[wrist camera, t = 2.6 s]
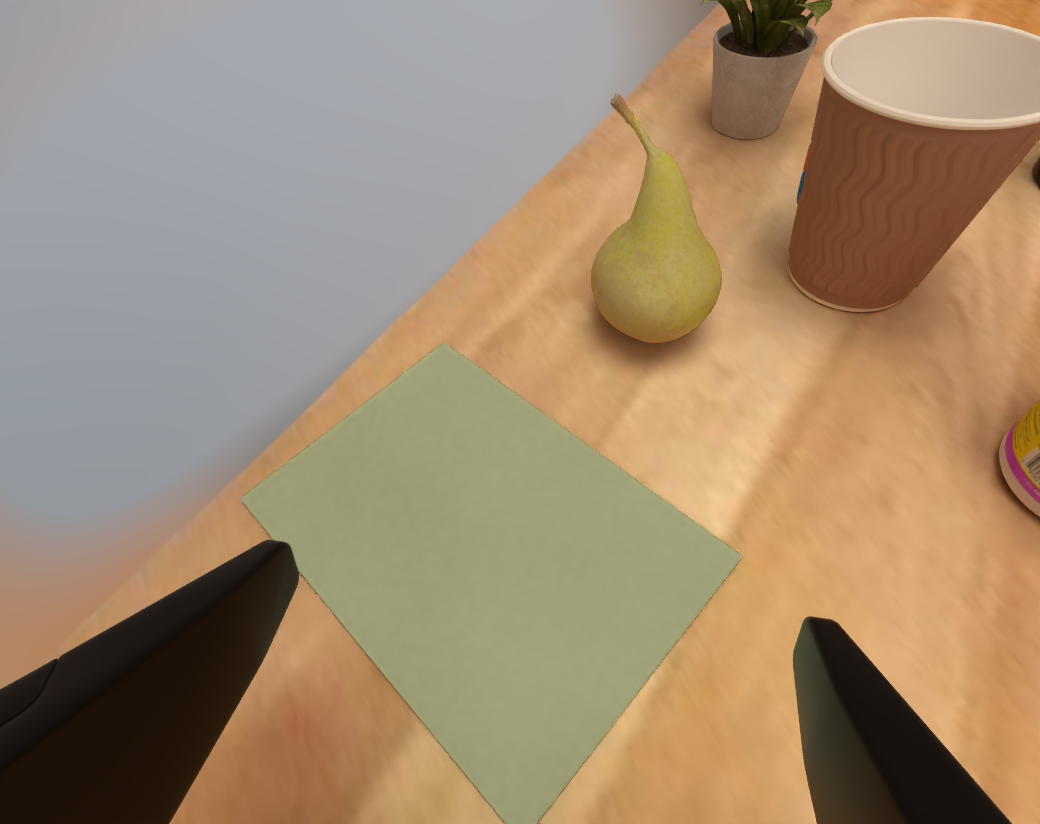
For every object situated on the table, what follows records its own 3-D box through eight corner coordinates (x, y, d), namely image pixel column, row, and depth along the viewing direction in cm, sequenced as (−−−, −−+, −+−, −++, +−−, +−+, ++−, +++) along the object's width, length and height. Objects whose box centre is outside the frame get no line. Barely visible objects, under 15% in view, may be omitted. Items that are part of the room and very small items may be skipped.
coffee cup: (862, 206, 39) (955, -1, 29) (984, 302, 33) (1153, 81, 23) (726, 249, 37) (777, 46, 28) (828, 357, 31) (937, 147, 22)
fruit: (647, 388, 31) (678, 189, 21) (561, 315, 35) (553, 119, 25) (732, 329, 33) (794, 124, 23) (641, 266, 37) (662, 68, 27)
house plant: (896, 151, 42) (1040, -157, 29) (724, 197, 41) (793, -106, 27) (787, 72, 50) (860, -195, 37) (641, 108, 49) (664, -157, 36)
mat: (741, 558, 25) (743, 555, 25) (522, 843, 20) (521, 843, 20) (445, 345, 34) (444, 341, 34) (242, 501, 29) (239, 498, 29)
